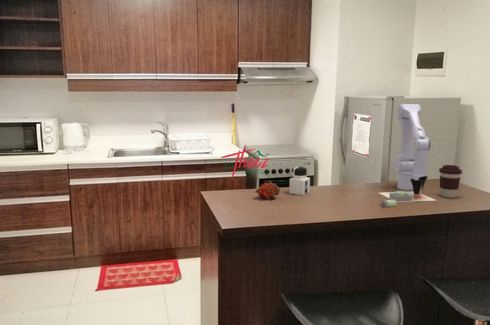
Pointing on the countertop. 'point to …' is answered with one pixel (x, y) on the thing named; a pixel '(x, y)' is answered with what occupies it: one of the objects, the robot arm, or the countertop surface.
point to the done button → (400, 193)
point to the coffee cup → (449, 180)
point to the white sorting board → (406, 197)
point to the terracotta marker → (418, 194)
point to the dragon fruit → (268, 190)
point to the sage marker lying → (388, 203)
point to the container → (299, 182)
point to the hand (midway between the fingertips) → (418, 192)
